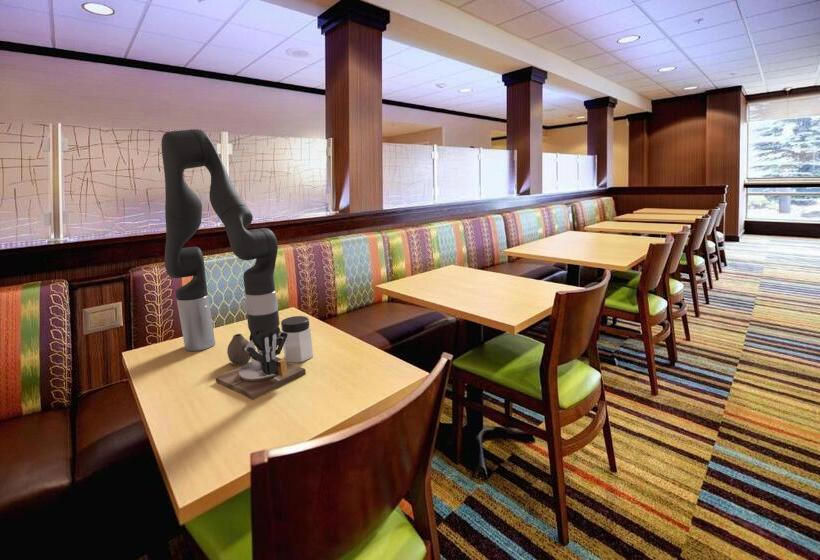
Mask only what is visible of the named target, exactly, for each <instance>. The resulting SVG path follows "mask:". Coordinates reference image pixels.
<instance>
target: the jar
mask: <svg viewBox="0 0 820 560" xmlns="http://www.w3.org/2000/svg"><path fill="white" fill-rule="evenodd" d="M280 322H281V323H280V325H281V326H280V327H281V329H280V331H281V332H284V333H287V334H288V336H287V338H286V341H285V343H284V345H283V348H282V349H283V355H284V359H285V360H286V362H287V363H303V362H306V361H307V360H309V359H311V358H313V357H314V353H313V342H312V340H313V339H312V333H311V332H312V331H311V327H310V319H309V318H308V317H307V316H303V315H295V316H289V317H286V318H284V319H282V320H281V321H280Z"/></svg>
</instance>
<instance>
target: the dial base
mask: <svg viewBox="0 0 820 560" xmlns="http://www.w3.org/2000/svg"><path fill="white" fill-rule="evenodd" d="M241 367H242V366H240V367H237V368H235V369H232V370H229V371H228V372H225V373H223V374H221V375H220V374H219V375H218V376H216V377H215V378H214V379H215V383H216V384H218V385H220V386H222V387H224V388H227V389H229V390H231V391H233V392H234V393H237V394H239V395H241V396H243V397H245V398H248V399H250V400H255V399H257V398H259V397H261V396H264V395H265V394H267V393H270V392H272V391H273V390H274V391H275V390H276V389H277V388H279V387H282V386H284V385H286V384H288V383H289V382H292V381H294V380H295V379H298V378H300V377H303V376H305V375H306V374H307V373H306V368H303V367H301V366H299V365H295V364H292V363H291V362H287V371H288V374H287V375H285V376H283V377H281V376H279V375H277V376H275V377H273V378H270V379H267V380H264V381H258V382H247V381H243V380H241V379H240V376H239V369H240V368H241Z"/></svg>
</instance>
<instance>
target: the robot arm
mask: <svg viewBox="0 0 820 560" xmlns="http://www.w3.org/2000/svg"><path fill="white" fill-rule="evenodd" d="M160 147H161V156H162V163H163V164H162V165H163V171H164V172H163V174H164V182H165V183H164V185H165V187H164V188H165V207H164V209H165V210H164V214H165V217H164V218H165V231H166V235H165V236H166V237H165V250H164V268H165V272H166V274H167V275H168V277H170V278H172V279H181V278H189V277H191V280H190V281H188V283H186V284H185V285H182V286H180V287H178V288H177V289H176V291H175V299H176V303H177V309H178V314H179V320H180V321H179V322H180V326H181V332H182V338H183V339H182V340H183V343H184V349H185V351H187V352H198V351H203V350H207V349H210V348H212V347H214V346H215V345H216V338H215V331H214V325H213V319H212V313H211V312H212V311H211V305H210V299H209V293H208V285H207V279H206V278H207V277H206V269H205V268H206V266H205V259H204V254H203V252H202V250H201V248H200V247H199V246H188V247H184V245H185V244H186V243H187V242H188V241H189V240H190V239H191V238H192V237H193V236H194V235H195V234H196V233H197V232H198V230H199V228H200V227H201V224H202V216H203V204H202V201H201V199H200V197H199V196H198V195H197V194H196V193H195V191H193V189H192V188H191V187H190V186H189V185H188V184H187V182H186V181H185V179H184V172H185V170H187V169H193V168H195V169H196V168H202V167H205V168H206V169H207V170H208V172H209V175H210V187H209V201H210V205H211V208H212V209H213V211H214V212H215V214H216V215H217V217H218V218H219V220H220V222H221V223H222V224H223V226H224V229H225V232H226V234H227V238H228V242H229V245H230V248H231V251H232V253H233V254H234V255H235V256H236V257H237V258H238V259H240V260H242V261H251V260H255V263H254V264H253V266H252V267H250V268H248V269H246V270H245V271H244V272H243V274H242V275H243V277H242V278H243V286H244V293H245V294H244V295H245V296H244V297H245V299H244V301H245V302H244V303H245V311H246V319H247V328H248V330H249V334H250V335H249V340H248V341H249V343H248V345H247V346H243V348H242V350H243V351H244V352H246V353H247V354H248V355H249V356H250V357H251V358H253V359H254V360H256V361H259V362H262V367H263V368H262V369H263V372H264V373H265V374H267V375H270V374H272V373H274V370H275V362H274V359H275V357H277V356H279V355H281V352H282V349H284V348H283V345H284V343H285V341H286V338H287V336H288V334H287V333H284V332H282V331H281V329H280V327H279V326H280V325H281V323H280V322H281V321H280V315H279V313H280V312H279V306H278V305H279V302H278V298H277V297H278V296H277V293H276V285H275V276H274V274H275V268H276V262H277V257H278V256H277V255H278V251H279V250H278V248H279V247H278V246H279V243H278V239H277V237H276V235H275V233H274V232H273V231H272V230H271V229H270V228H265V227H262V228H261V227H260V228H255V229H247V228H248V227H249V226H250V225H251V224H252V222H253V218H254V217H253V214H252V211H251V210H250V209H249V208H248V206H247V204H246V203H245V202H244V200H243V199H242V197H241V196H240V194H239V192H238V191H237V190H236V188H235V186H234V184H233V182H232V180H231V179H230V177H229V176H230V175H229V174H228V172H227V170H226V167H225V166H224V164H223V161H222V159H221V157H220V155H219V153H218V151H217V149H216V147H215V144H214V143H213V141H212V140H211V138H210V136H209V135H208V134H207V133H206V132H205V131H204V130H202V129H199V128H198V129H194V128H193V129H183V130H173V131H172V130H171V131H170V130H169V131H167V132H164V133H163V134H162V138H161V146H160Z"/></svg>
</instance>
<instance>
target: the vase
mask: <svg viewBox="0 0 820 560" xmlns="http://www.w3.org/2000/svg"><path fill="white" fill-rule="evenodd" d="M249 342H250V340H248V339H246V337H244V335H243V334H241V333H236V334H234V335H233V336H232V339H231V341H230V342H229V344H228V345H227V351H226V353H227V358H228V359H229V361H230V363H232V364H233V365H235V366H243V365H245V364H247V363H249V362H250V361H251V358H252V357H250V356H249V355H248V354H247V353H246V352H244V351H243V350H242V348H243V346H247V345H248V343H249Z"/></svg>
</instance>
